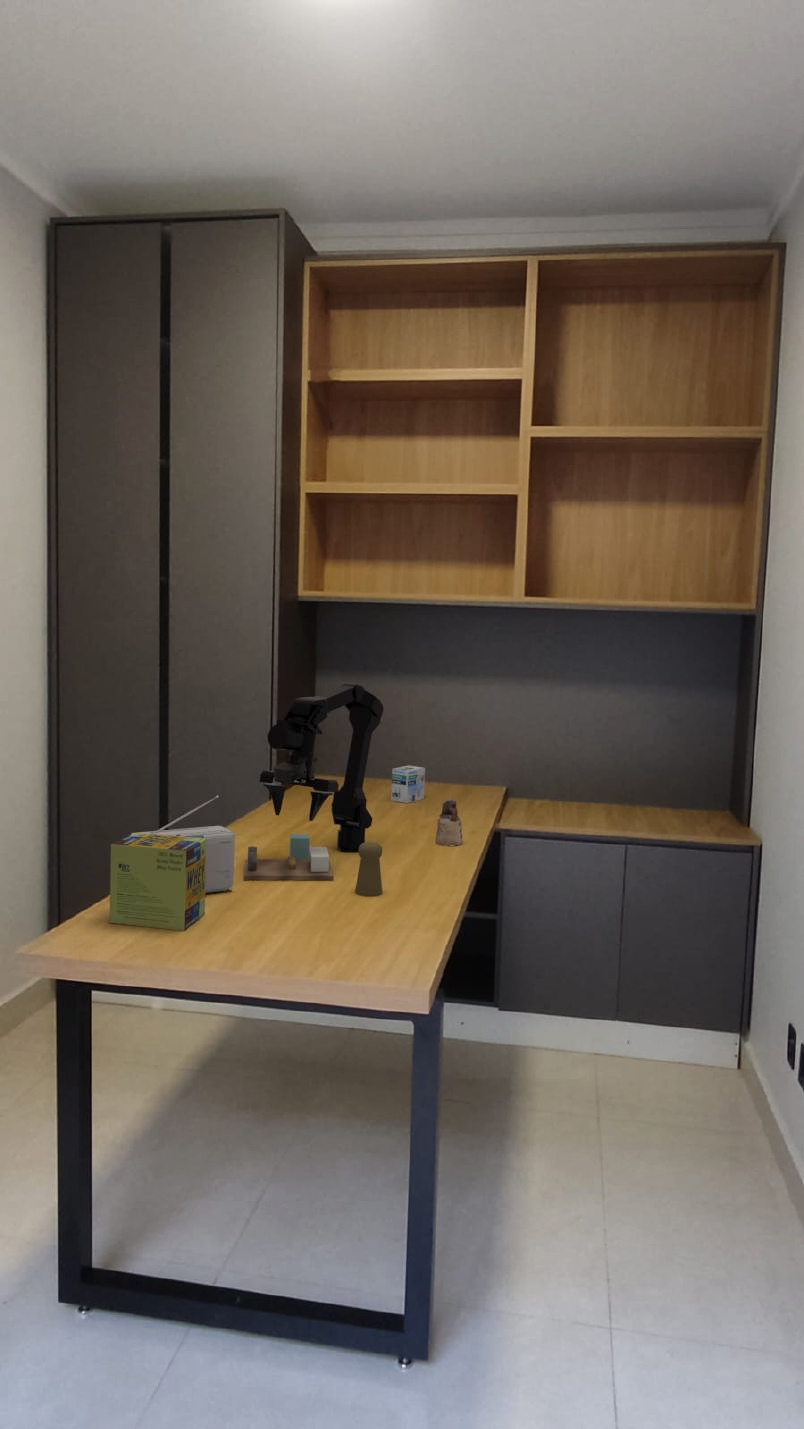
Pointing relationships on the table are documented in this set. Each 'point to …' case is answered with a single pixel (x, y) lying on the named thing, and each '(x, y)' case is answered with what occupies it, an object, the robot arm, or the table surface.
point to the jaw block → (299, 846)
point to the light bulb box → (408, 784)
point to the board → (281, 869)
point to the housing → (319, 859)
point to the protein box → (158, 881)
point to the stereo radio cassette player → (210, 852)
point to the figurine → (449, 825)
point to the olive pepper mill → (369, 870)
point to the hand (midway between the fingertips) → (294, 818)
